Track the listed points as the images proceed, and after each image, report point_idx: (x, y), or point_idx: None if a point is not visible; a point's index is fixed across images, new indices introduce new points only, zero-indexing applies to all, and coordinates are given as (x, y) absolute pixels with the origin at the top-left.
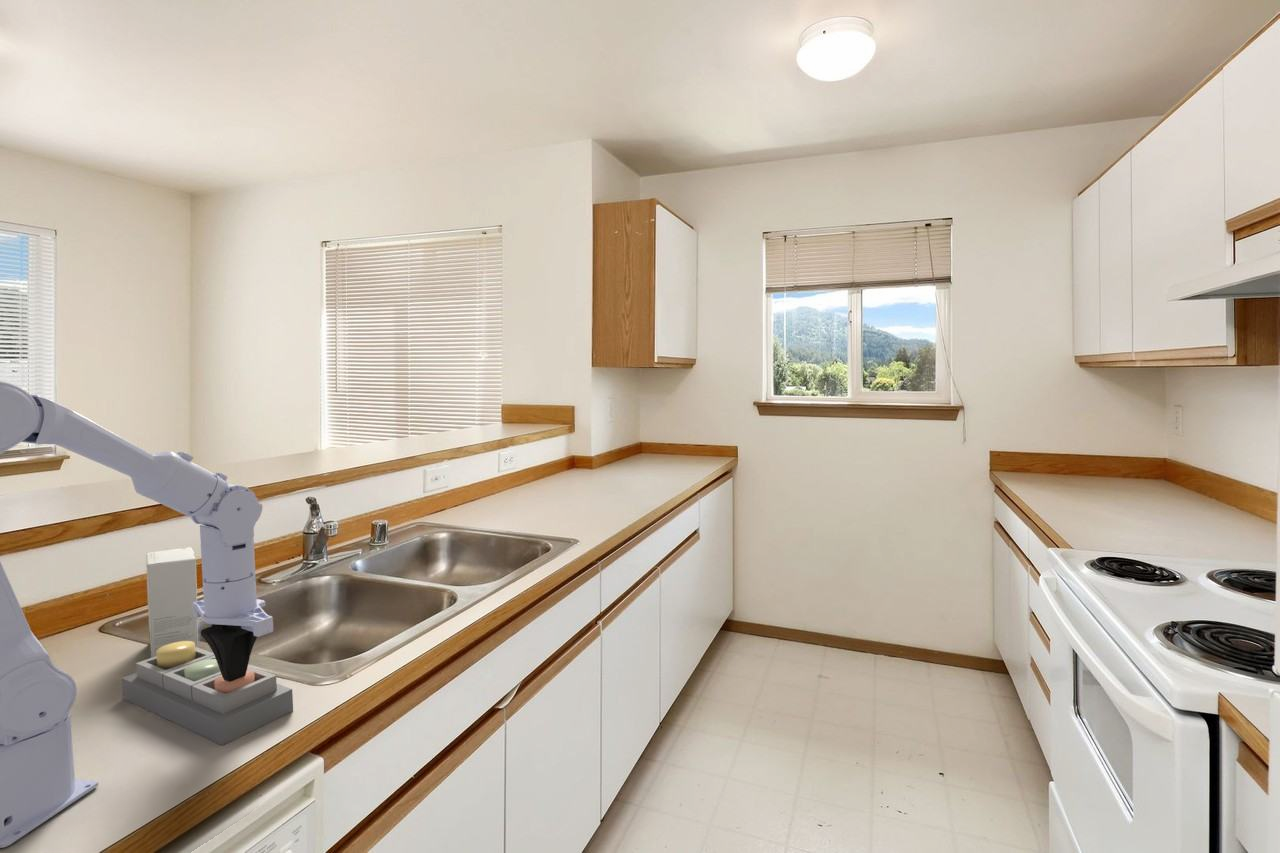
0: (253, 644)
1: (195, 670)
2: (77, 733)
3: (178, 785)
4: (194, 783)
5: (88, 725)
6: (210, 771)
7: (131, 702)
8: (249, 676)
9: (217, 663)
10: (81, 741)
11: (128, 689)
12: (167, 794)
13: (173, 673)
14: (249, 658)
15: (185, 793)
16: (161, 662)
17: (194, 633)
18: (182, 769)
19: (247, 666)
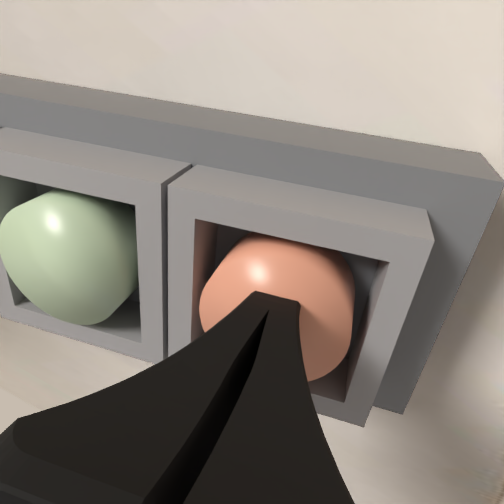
0: (317, 421)
1: (71, 303)
2: (47, 355)
3: (435, 473)
4: (468, 468)
5: (28, 332)
6: (468, 438)
7: None
8: (329, 308)
9: (71, 236)
10: (86, 374)
11: None
12: (439, 492)
13: (21, 309)
14: (299, 347)
15: (478, 491)
16: None
17: None
18: (388, 433)
19: (297, 322)
